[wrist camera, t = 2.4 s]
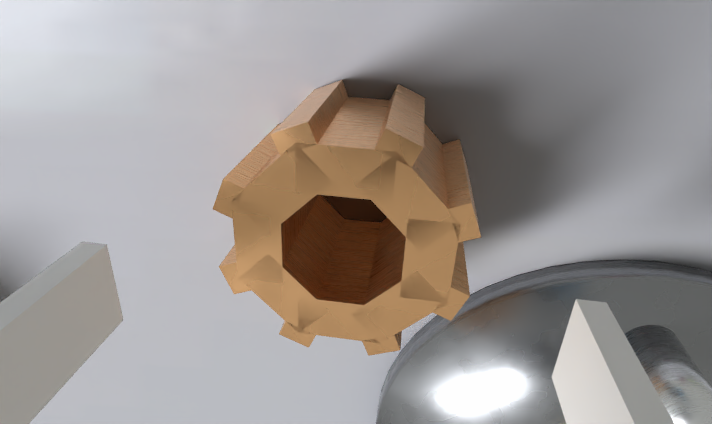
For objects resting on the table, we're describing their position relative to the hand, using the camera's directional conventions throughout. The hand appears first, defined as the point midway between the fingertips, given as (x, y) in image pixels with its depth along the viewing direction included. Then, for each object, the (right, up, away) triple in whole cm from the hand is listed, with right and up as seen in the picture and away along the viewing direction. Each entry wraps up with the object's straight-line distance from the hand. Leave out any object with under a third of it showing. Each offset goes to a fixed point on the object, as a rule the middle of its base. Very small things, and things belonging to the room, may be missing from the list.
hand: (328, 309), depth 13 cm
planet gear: (+1, +4, +7) cm, 8 cm away
